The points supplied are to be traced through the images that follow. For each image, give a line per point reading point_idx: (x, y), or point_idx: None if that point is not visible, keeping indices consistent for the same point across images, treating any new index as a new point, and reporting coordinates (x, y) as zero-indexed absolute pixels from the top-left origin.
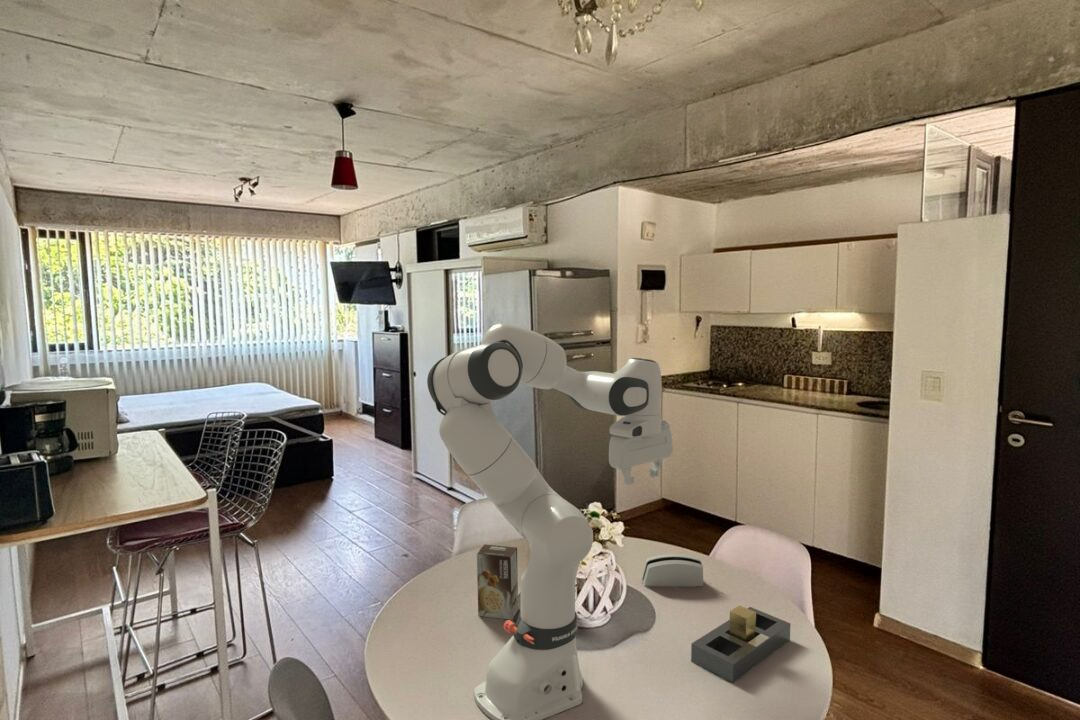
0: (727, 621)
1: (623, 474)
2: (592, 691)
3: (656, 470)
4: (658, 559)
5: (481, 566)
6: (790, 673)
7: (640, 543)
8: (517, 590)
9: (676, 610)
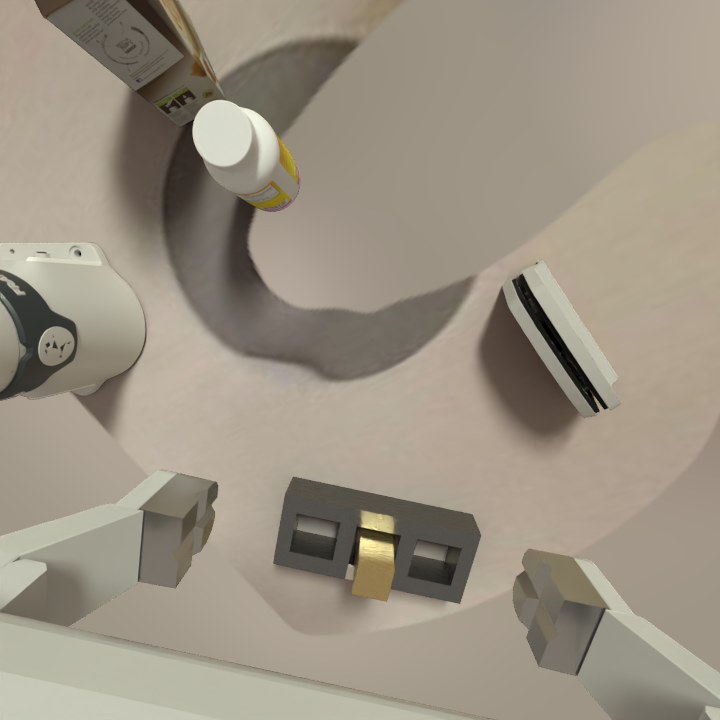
0: (397, 518)
1: (66, 523)
2: (123, 391)
3: (573, 668)
4: (547, 320)
5: None
6: None
7: None
8: (198, 75)
9: (436, 392)
